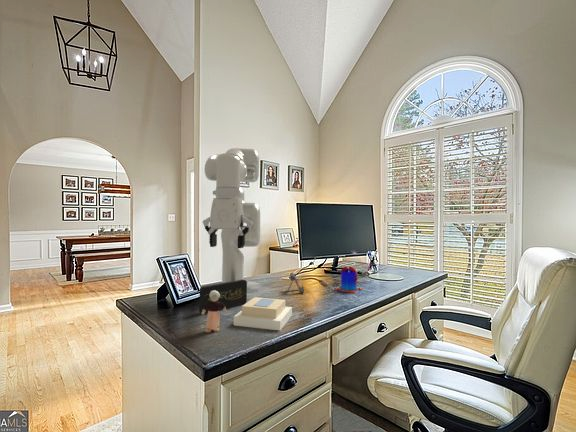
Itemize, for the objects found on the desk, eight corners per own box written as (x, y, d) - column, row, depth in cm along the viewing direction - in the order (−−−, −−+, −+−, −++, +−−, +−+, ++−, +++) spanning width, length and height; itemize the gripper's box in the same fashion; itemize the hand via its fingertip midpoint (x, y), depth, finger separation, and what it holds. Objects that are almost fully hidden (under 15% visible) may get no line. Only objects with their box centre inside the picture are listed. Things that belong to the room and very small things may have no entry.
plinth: (233, 325, 104) (233, 306, 104) (250, 311, 119) (251, 294, 119) (280, 330, 100) (280, 311, 100) (291, 315, 116) (292, 298, 116)
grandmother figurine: (203, 334, 96) (203, 292, 96) (200, 330, 99) (201, 289, 99) (227, 330, 99) (228, 290, 99) (224, 326, 103) (225, 287, 103)
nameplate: (202, 315, 114) (202, 287, 114) (199, 314, 115) (199, 286, 115) (246, 304, 129) (247, 279, 129) (243, 303, 131) (244, 279, 131)
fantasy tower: (332, 290, 157) (332, 266, 157) (344, 286, 166) (344, 263, 166) (353, 294, 150) (353, 269, 149) (364, 290, 158) (365, 266, 158)
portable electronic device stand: (303, 294, 148) (304, 276, 148) (287, 293, 148) (287, 275, 148) (303, 289, 156) (303, 272, 156) (287, 289, 157) (287, 272, 156)
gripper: (197, 193, 100) (196, 247, 100) (248, 193, 95) (247, 249, 95) (210, 195, 107) (208, 245, 107) (257, 195, 102) (256, 247, 102)
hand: (226, 247), depth 101 cm, fingers open, 9 cm apart
